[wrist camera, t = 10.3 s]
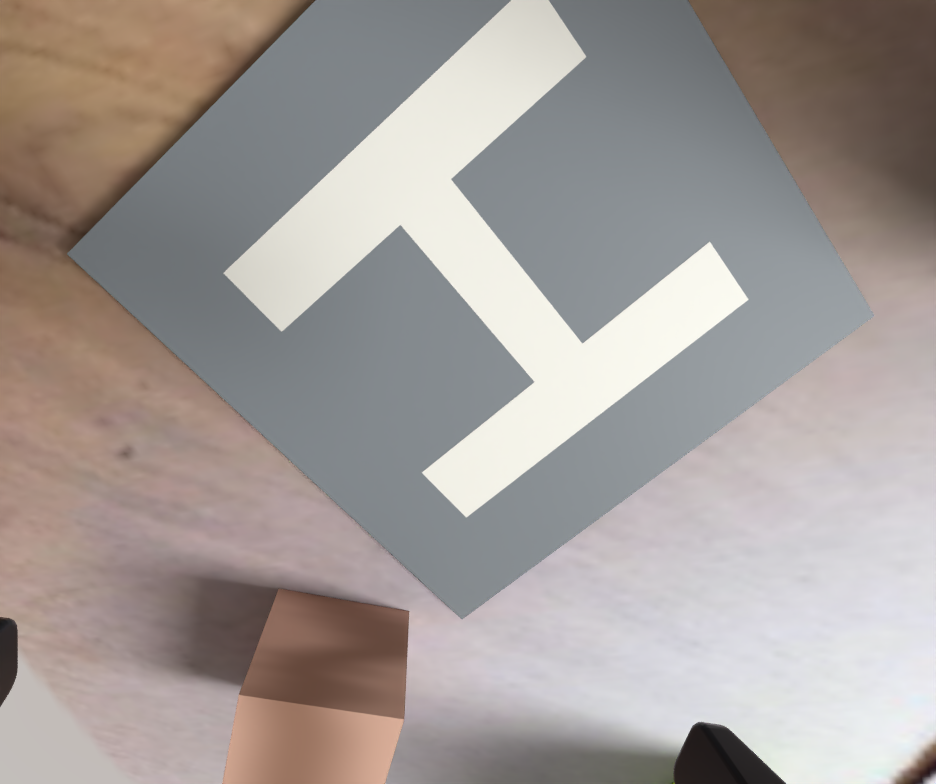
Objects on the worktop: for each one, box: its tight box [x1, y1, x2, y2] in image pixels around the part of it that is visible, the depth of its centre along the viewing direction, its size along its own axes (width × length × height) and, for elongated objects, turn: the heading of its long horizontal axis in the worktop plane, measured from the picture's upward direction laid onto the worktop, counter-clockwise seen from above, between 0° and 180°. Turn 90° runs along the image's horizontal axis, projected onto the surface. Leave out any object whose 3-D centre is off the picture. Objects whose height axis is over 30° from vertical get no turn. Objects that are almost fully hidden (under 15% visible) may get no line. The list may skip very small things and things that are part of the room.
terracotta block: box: [222, 589, 409, 784], centre depth 21 cm, size 5×5×5 cm
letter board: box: [67, 0, 874, 619], centre depth 19 cm, size 18×18×1 cm
